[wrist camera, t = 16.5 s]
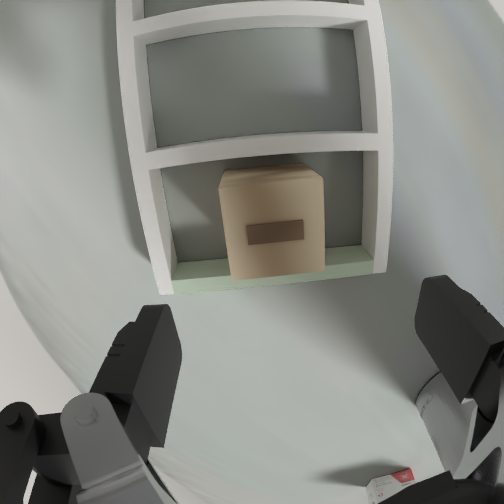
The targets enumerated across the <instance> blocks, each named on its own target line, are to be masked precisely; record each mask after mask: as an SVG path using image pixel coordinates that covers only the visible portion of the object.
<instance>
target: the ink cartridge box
mask: <svg viewBox="0 0 504 504" xmlns="http://www.w3.org/2000/svg"><path fill="white" fill-rule="evenodd" d="M415 483H416V482H415V479H414V476H413V474H412V471H411V469H407V470H404V471H400V472H397V473H393V474H390V475H386V476H382V477H378V478H374V479H371V481H370V482H369V484H368V485H367V487H366V492H367V495H368V500H369V504H378V503H380V502H381V501H383V500H385V499H387V498H389V497H391V496H392V495H394V494H396V493H398V492H399V491H401V490H403V489H404V488H406V487H408V486H410V485H412V484H415Z"/></svg>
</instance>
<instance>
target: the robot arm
mask: <svg viewBox="0 0 504 504" xmlns="http://www.w3.org/2000/svg"><path fill="white" fill-rule="evenodd" d="M415 329H416V333H417V335H418V337H419V338H420V340H421V341H422V343H423V344H424V346H425V347H426V349H427V350H428V352H429V354H430V355H431V357H432V358H433V360H434V361H435V363H436V365H437V366H438V368H439V369H440V371H441V372H440V373H439V374H437V375H436V376H435V377H434V378H433V379H432V380H430V381H429V383H428V384H427V385H426V386H425V387H424V388H423V389H422V391H421V392H420V394H419V396H418V398H417V401H416V406H417V408H418V410H419V412H420V416H421V418H422V419H423V421H424V423H425V426H426V428H427V430H428V432H429V435H430V437H431V439H432V441H433V444H434V446H435V448H436V450H437V453H438V455H439V457H440V460H441V462H442V464H443V467H444V469H445V472H444V473H441V474H439V475H437V476H434V477H431V478H429V479H426V480H424V481H421V482H418V483H415V484H412V485H410V486H408V487H406V488H404V489H403V490H401V491H399V492H398V493H396V494H394V495H392V496H391V497H389V498H387V499H385V500H383V501H381V502H380V503H378V504H504V327H503V326H502V325H501V324H500V323H499V322H498V321H497V320H496V319H495V318H494V317H493V316H492V315H491V314H490V313H489V312H487V309H486V308H485V307H484V306H483V305H480V302H479V301H478V300H477V299H476V298H475V297H474V296H473V295H472V294H470V293H468V292H467V291H465V290H463V289H461V288H459V287H458V286H457V285H456V284H455V283H454V282H453V281H452V280H451V279H450V278H449V277H448V276H447V275H441V276H434V277H428V278H425V279H424V280H423V282H422V286H421V291H420V296H419V301H418V306H417V310H416V315H415ZM107 355H108V356H107V357H106V358H105V360H104V362H103V364H102V366H101V368H100V370H99V372H98V374H97V377H96V379H95V381H94V383H93V385H92V387H91V390H90V392H89V393H84V394H81V395H78V396H77V397H74V398H73V399H71V400H70V401H69V402H68V403H67V404H66V405H65V407H64V408H63V410H62V412H61V413H54V414H45V415H37V413H36V412H35V411H34V410H33V408H32V407H31V406H30V405H29V404H27V403H25V402H15V403H12V404H10V405H8V406H6V407H5V408H4V409H3V410H2V411H1V412H0V504H23V497H24V493H25V490H26V487H27V484H28V481H29V477H30V474H31V472H32V469H33V470H34V471H35V472H36V473H37V476H36V479H35V483H34V485H33V489H32V492H31V495H30V499H29V503H28V504H179V503H178V502H177V500H176V499H175V497H174V496H173V495H172V493H171V492H170V490H169V489H168V487H167V486H166V485H165V483H164V482H163V480H162V478H161V477H160V475H159V474H158V472H157V471H156V469H155V468H154V466H153V465H152V463H151V461H150V460H149V459H148V455H149V450H150V447H162V448H164V443H165V438H166V433H167V428H168V423H169V418H170V413H171V408H172V403H173V399H174V394H175V389H176V384H177V380H178V375H179V371H180V366H181V361H182V350H181V344H180V340H179V337H178V333H177V330H176V326H175V323H174V319H173V316H172V312H171V309H170V307H169V305H168V304H161V305H144V306H143V307H142V309H141V311H140V313H139V315H138V317H137V319H136V321H135V322H129V323H128V324H127V325H125V326H124V327H123V328H122V329H121V330H120V331H119V332H118V334H117V336H116V337H115V339H114V341H113V343H112V347H110V350H109V352H108V354H107Z"/></svg>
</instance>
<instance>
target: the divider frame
mask: <svg viewBox="0 0 504 504" xmlns="http://www.w3.org/2000/svg"><path fill="white" fill-rule="evenodd" d="M348 2H349V4H347V3H336V2H323V1H298V0H277V1H252V2H238V3H228V4H219V5H211V6H204V7H197V8H191V9H185V10H180V11H175V12H170V13H165V14H161V15H156V16H152V17H148V18H144V0H116V32H117V51H118V66H119V78H120V88H121V98H122V107H123V115H124V123H125V130H126V137H127V144H128V151H129V157H130V163H131V169H132V175H133V180H134V186H135V191H136V196H137V201H138V206H139V211H140V216H141V221H142V225H143V230H144V234H145V239H146V243H147V247H148V251H149V255H150V259H151V263H152V267H153V271H154V275H155V279H156V283H157V286H158V290H159V294H160V295H168V294H182V293H194V292H207V291H219V290H230V289H241V288H252V287H262V286H272V285H282V284H291V283H301V282H310V281H318V280H327V279H336V278H344V277H352V276H360V275H368V274H376V273H383V272H386V269H387V260H388V251H389V240H390V228H391V213H392V193H393V119H392V100H391V86H390V75H389V65H388V56H387V48H386V40H385V33H384V27H383V21H382V15H381V9H380V4H379V0H348ZM274 27H317V28H337V29H350V30H353V33H354V41H355V49H356V57H357V66H358V76H359V88H360V101H361V117H362V131H315V132H293V133H277V134H263V135H252V136H241V137H232V138H223V139H215V140H207V141H200V142H192V143H186V144H179V145H173V146H167V147H161V148H157V142H156V135H155V127H154V120H153V111H152V103H151V94H150V84H149V74H148V63H147V50H146V45H148V44H153V43H157V42H161V41H166V40H171V39H176V38H181V37H187V36H193V35H199V34H206V33H213V32H221V31H230V30H241V29H254V28H274ZM327 151H363V218H362V241H361V245H355V246H345V247H335V248H325V271H318V272H310V273H301V274H292V275H283V276H274V277H265V278H256V279H246V280H236V281H232V280H231V273H230V267H229V260H228V258H223V259H212V260H202V261H192V262H181V263H178V260H177V256H176V251H175V246H174V241H173V236H172V231H171V226H170V221H169V215H168V210H167V204H166V199H165V193H164V187H163V181H162V175H161V169H160V168H165V167H171V166H178V165H184V164H191V163H199V162H206V161H214V160H223V159H232V158H241V157H252V156H263V155H275V154H289V153H305V152H327Z"/></svg>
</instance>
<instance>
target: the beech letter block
mask: <svg viewBox="0 0 504 504" xmlns="http://www.w3.org/2000/svg"><path fill="white" fill-rule="evenodd" d="M218 191H219V198H220V205H221V212H222V219H223V226H224V233H225V240H226V247H227V253H228V260H229V267H230V273H231V280H232V281H236V280H246V279H256V278H265V277H274V276H283V275H292V274H301V273H310V272H318V271H325V219H324V186H323V178H322V177H321V176H320V175H318V174H317V173H316V172H315V171H313V170H312V169H311V168H309V167H308V166H307V165H306V164H304V163H299V164H286V165H274V166H264V167H254V168H244V169H235V170H227V171H224V172H223V175H222V178H221V181H220V184H219V187H218Z"/></svg>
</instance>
